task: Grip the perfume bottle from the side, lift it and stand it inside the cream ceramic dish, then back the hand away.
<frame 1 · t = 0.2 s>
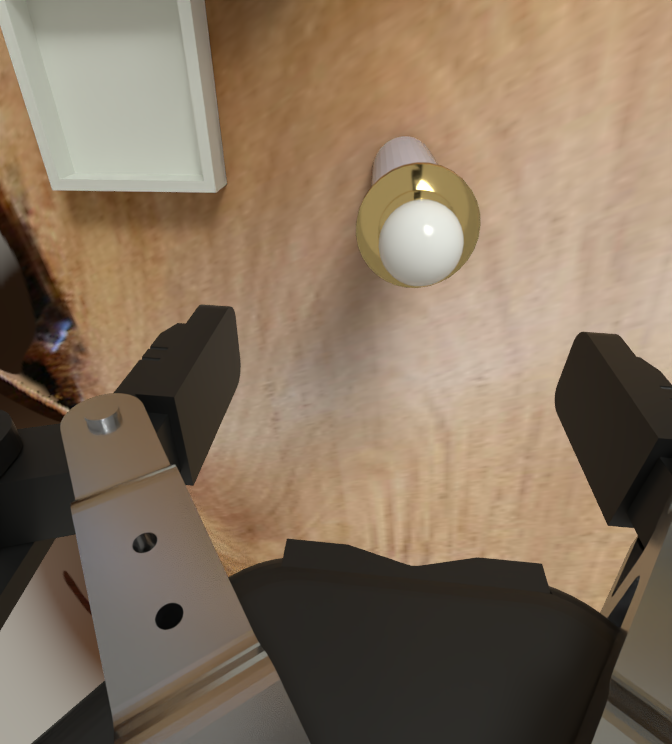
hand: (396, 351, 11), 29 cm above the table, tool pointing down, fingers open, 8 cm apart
dish: (130, 91, 34), on the table
perfume bottle 2: (402, 167, 36), on the table
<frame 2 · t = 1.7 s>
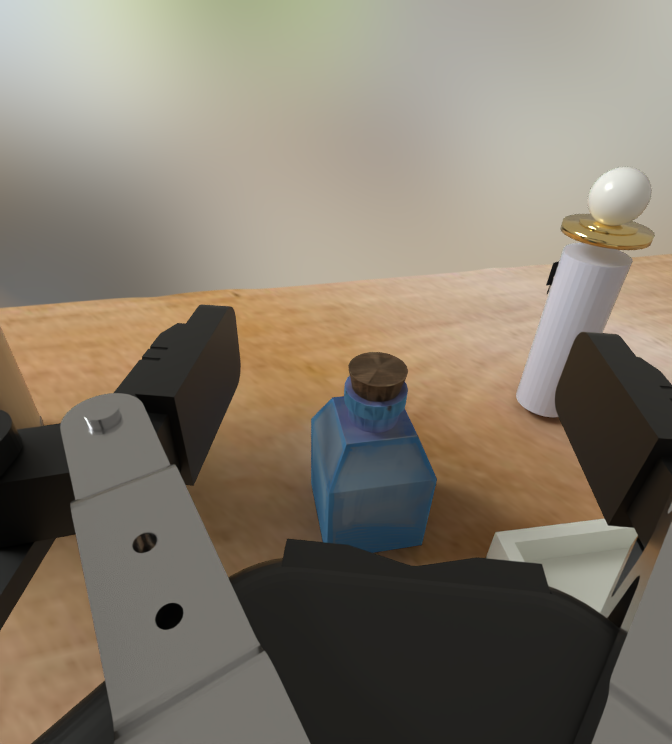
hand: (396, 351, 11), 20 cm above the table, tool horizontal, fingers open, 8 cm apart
dish: (644, 653, 25), on the table
perfume bottle: (362, 514, 32), on the table
perfume bottle 2: (539, 408, 42), on the table
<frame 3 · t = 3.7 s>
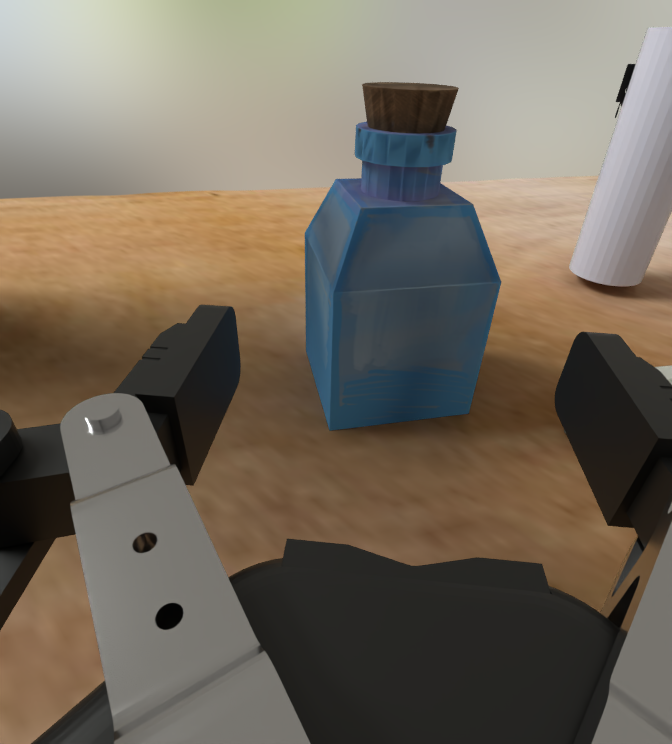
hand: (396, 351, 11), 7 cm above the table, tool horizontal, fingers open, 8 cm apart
perfume bottle: (380, 383, 22), on the table
perfume bottle 2: (599, 285, 32), on the table
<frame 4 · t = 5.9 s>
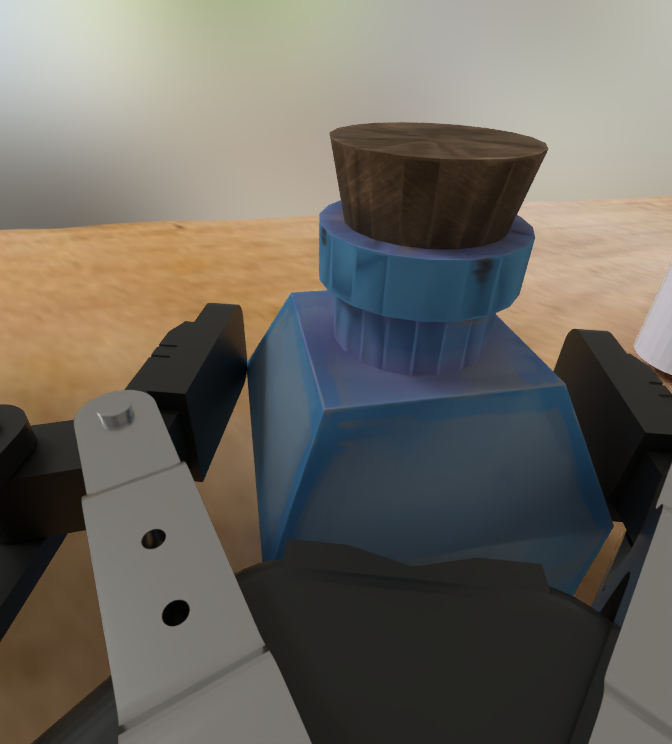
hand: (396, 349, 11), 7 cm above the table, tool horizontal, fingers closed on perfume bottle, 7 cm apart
perfume bottle: (374, 590, 14), on the table, touching gripper
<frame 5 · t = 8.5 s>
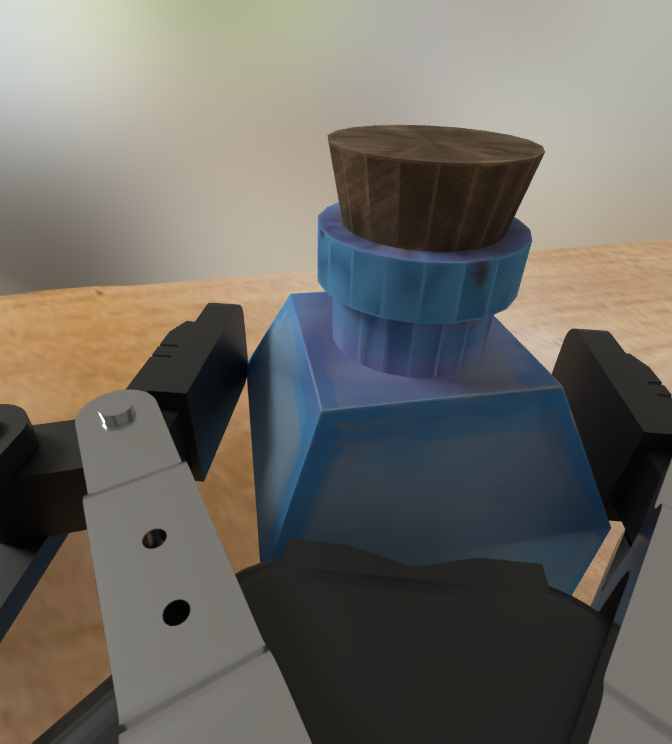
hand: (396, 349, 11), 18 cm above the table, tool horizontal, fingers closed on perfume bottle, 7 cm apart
perfume bottle: (373, 590, 14), point 11 cm above the table, touching gripper
when the fingers open (9 cm above the table, at t = 11.1 s): perfume bottle drops 1 cm, resting on dish.
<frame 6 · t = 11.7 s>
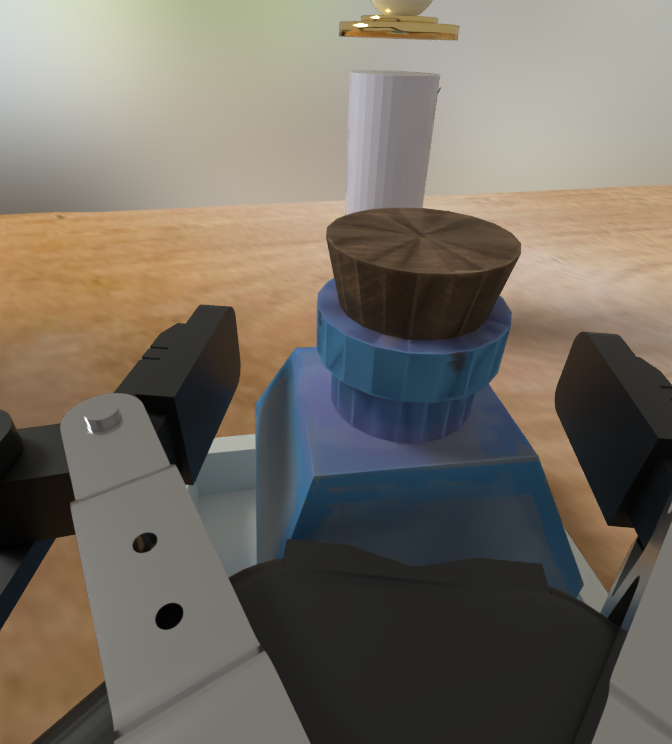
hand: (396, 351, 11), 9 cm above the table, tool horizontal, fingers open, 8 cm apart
dish: (367, 626, 15), on the table
perfume bottle: (369, 617, 15), point 1 cm above the table, touching dish
perfume bottle 2: (373, 321, 32), on the table
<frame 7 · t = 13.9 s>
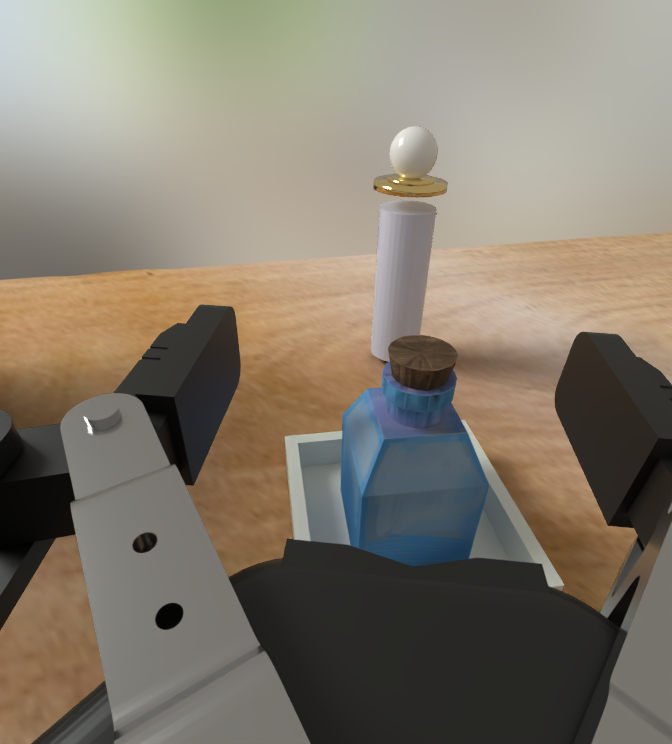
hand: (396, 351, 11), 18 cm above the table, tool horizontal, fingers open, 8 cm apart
dish: (397, 532, 28), on the table
perfume bottle: (398, 526, 28), point 1 cm above the table, touching dish
perfume bottle 2: (393, 358, 46), on the table
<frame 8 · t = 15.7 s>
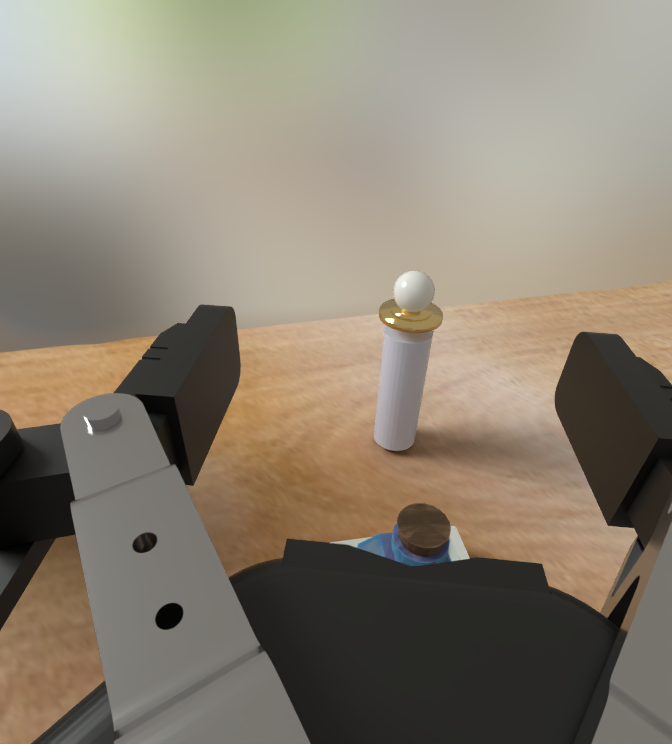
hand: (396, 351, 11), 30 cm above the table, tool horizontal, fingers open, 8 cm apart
dish: (400, 631, 35), on the table
perfume bottle: (401, 627, 35), point 1 cm above the table, touching dish
perfume bottle 2: (393, 442, 52), on the table
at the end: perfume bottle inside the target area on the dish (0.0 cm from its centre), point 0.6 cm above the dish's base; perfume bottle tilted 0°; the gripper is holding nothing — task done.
